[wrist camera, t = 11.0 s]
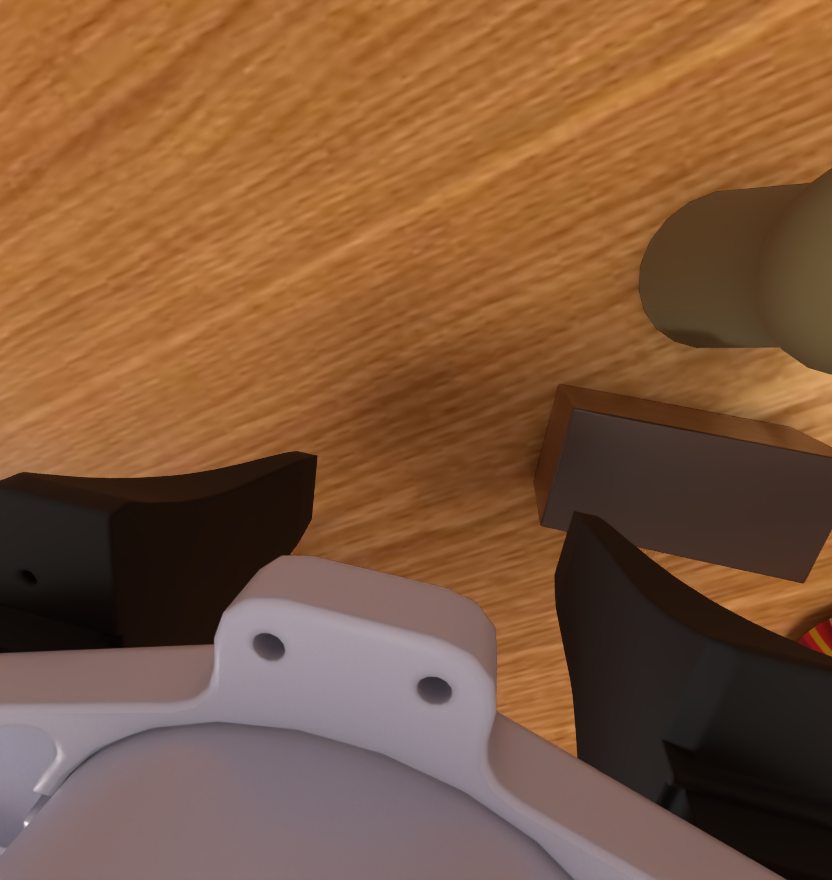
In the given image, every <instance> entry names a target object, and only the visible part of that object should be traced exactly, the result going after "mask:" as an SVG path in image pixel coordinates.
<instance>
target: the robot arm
mask: <svg viewBox="0 0 832 880" xmlns="http://www.w3.org/2000/svg"><path fill="white" fill-rule="evenodd" d="M316 467H317V455H312V454H307V453H303V452H298V451H295V452H287V453H282V454H278V455H274V456H270V457H266V458H262V459H258V460H254V461H250V462H246V463H242V464H238V465H233V466H228V467H224V468H219V469H215V470H210V471H204V472H198V473H190V474H183V475H174V476H161V477H143V478H88V477H72V476H60V475H49V474H37V473H28V472H22V473H18V474H16V475H13V476H11V477H8V478H6V479H3V480H1V481H0V880H832V656H829V655H826V654H824V653H821V652H818V651H816V650H813V649H810V648H808V647H806V646H803V645H801V644H799V643H796V642H794V641H792V640H789V639H787V638H785V637H783V636H780V635H778V634H776V633H774V632H771V631H769V630H767V629H765V628H763V627H761V626H759V625H757V624H755V623H753V622H751V621H749V620H747V619H745V618H743V617H741V616H739V615H737V614H735V613H733V612H732V611H730V610H728V609H726V608H724V607H722V606H720V605H719V604H717V603H715V602H713V601H712V600H710V599H708V598H707V597H705V596H704V595H702V594H700V593H699V592H697V591H696V590H694V589H692V588H691V587H689V586H688V585H686V584H685V583H683V582H682V581H680V580H679V579H677V578H676V577H674V576H673V575H672V574H670V573H669V572H668V571H666V570H665V569H664V568H662V567H661V566H660V565H658V564H657V563H656V562H654V561H653V560H652V559H650V558H649V557H648V556H647V555H645V554H644V553H643V552H642V551H641V550H639V549H638V548H637V547H636V546H635V545H633V544H632V543H631V542H630V541H629V540H627V539H626V538H625V537H624V536H623V535H622V534H620V533H619V532H618V531H617V530H616V529H614V528H613V527H612V526H611V525H610V524H608V523H607V522H606V521H604V520H603V519H602V518H600V517H598V516H596V515H591V514H586V513H582V512H577V511H574V512H573V515H572V519H571V522H570V525H569V529H568V532H567V535H566V539H565V542H564V545H563V548H562V552H561V555H560V558H559V562H558V565H557V568H556V572H555V601H556V610H557V616H558V621H559V626H560V631H561V636H562V641H563V646H564V651H565V656H566V661H567V666H568V671H569V676H570V681H571V688H572V694H573V704H574V716H575V728H576V741H577V757H578V758H576V757H575V756H573V755H571V754H569V753H568V752H566V751H564V750H563V749H561V748H559V747H557V746H556V745H554V744H552V743H551V742H549V741H547V740H545V739H544V738H542V737H540V736H538V735H537V734H535V733H533V732H532V731H530V730H528V729H526V728H525V727H523V726H521V725H520V724H518V723H516V722H514V721H513V720H511V719H509V718H507V717H506V716H504V715H502V714H501V713H499V712H497V711H496V692H497V646H496V630H495V626H494V625H493V623H492V622H491V621H490V619H489V618H488V617H487V615H486V614H485V613H484V612H483V610H482V609H481V608H480V606H479V605H478V604H477V602H475V601H473V600H471V599H469V598H466V597H464V596H462V595H460V594H458V593H456V592H454V591H452V590H450V589H448V588H445V587H441V586H437V585H433V584H429V583H425V582H420V581H416V580H412V579H408V578H404V577H399V576H395V575H391V574H387V573H383V572H379V571H374V570H370V569H366V568H362V567H358V566H354V565H349V564H345V563H341V562H337V561H333V560H328V559H324V558H320V557H316V556H289V555H290V554H291V552H292V551H293V550H294V548H295V547H296V546H297V544H298V543H299V541H300V539H301V537H302V536H303V534H304V532H305V530H306V529H307V527H308V525H309V523H310V521H311V519H312V510H313V499H314V489H315V478H316Z"/></svg>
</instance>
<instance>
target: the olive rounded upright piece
mask: <svg viewBox="0 0 832 880" xmlns="http://www.w3.org/2000/svg"><path fill="white" fill-rule="evenodd" d="M639 292H640V296H641V300H642V304H643V308H644V311H645V313H646V314H647V316H648V317H649V318H650V320H651V321H652V323H653V324H654V326H655V327H656V329H658V330H659V331H660V332H662V333H663V334H665V335H666V336H668V337H669V338H670V339H672V340H673V341H675V342H678V343H682V344H686V345H689V346H693V347H696V348H759V347H780V348H781V349H782V350H784V351H785V352H786V353H788V354H789V355H791V356H792V357H794V358H795V359H796V360H798V361H799V362H801V363H802V364H804V365H805V366H806V367H808V368H811V369H814V370H818V371H821V372H824V373H828V374H832V168H831V169H830V170H828V171H827V172H825V173H824V174H823V175H821V176H820V177H819V178H817V179H816V180H814V181H813V182H812V183H805V184H794V185H783V186H771V187H760V188H749V189H738V190H727V191H716V192H713V193H711V194H708V195H706V196H703V197H701V198H698V199H696V200H693V201H691V202H689V203H688V204H686V205H685V206H684V207H682V208H681V209H680V210H678V211H677V212H676V213H674V214H673V215H672V216H671V217H669V218H668V219H667V220H666V221H665V222H664V224H663V225H662V226H661V228H660V229H659V230H658V232H657V233H656V234H655V236H654V237H653V238H652V239H651V241H650V243H649V246H648V248H647V251H646V253H645V256H644V258H643V261H642V263H641V268H640V280H639Z"/></svg>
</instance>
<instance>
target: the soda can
mask: <svg viewBox="0 0 832 880" xmlns="http://www.w3.org/2000/svg"><path fill="white" fill-rule="evenodd" d="M797 643H799V644H801V645H803V646H806V647H808V648H810V649H813V650H816V651H818V652H821V653H824V654H826V655H829V656H832V618H831V619H828V620H826V621H824V622H822V623H820V624H818V625H817V626H815V627H814V628H812V629H811V630H810V631H808V632H807V633H806V634H805V635H804V636H803V637H802V638H801V639H799V641H798V642H797Z"/></svg>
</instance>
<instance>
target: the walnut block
mask: <svg viewBox="0 0 832 880" xmlns="http://www.w3.org/2000/svg"><path fill="white" fill-rule="evenodd" d="M533 483H534V489H535V495H536V501H537V507H538V513H539V519H540V525H541V526H544V527H548V528H553V529H557V530H562V531H566V532H568V529H569V525H570V522H571V519H572V515H573V512H574V511H577V512H582V513H586V514H591V515H596V516H598V517H600V518H602V519H603V520H604V521H606V522H607V523H608V524H610V525H611V526H612V527H613V528H614V529H616V530H617V531H618V532H619V533H620V534H622V535H623V536H624V537H625V538H626V539H627V540H629V541H630V542H631V543H632V544H633V545H635V546H636V547H639V548H644V549H649V550H653V551H658V552H662V553H667V554H671V555H676V556H680V557H685V558H690V559H694V560H699V561H703V562H708V563H712V564H717V565H722V566H726V567H731V568H735V569H740V570H744V571H749V572H753V573H758V574H763V575H767V576H772V577H776V578H781V579H785V580H790V581H795V582H799V583H804V582H805V581H806V579H807V577H808V575H809V573H810V571H811V569H812V567H813V565H814V563H815V561H816V559H817V557H818V555H819V553H820V551H821V549H822V547H823V546H824V544H825V542H826V540H827V538H828V536H829V534H830V532H831V530H832V447H830V446H828V445H826V444H824V443H822V442H820V441H818V440H816V439H814V438H812V437H810V436H808V435H806V434H804V433H802V432H800V431H798V430H796V429H794V428H792V427H788V426H783V425H777V424H772V423H766V422H761V421H756V420H750V419H745V418H740V417H734V416H729V415H724V414H718V413H713V412H708V411H702V410H697V409H691V408H686V407H681V406H675V405H670V404H665V403H659V402H654V401H649V400H643V399H638V398H633V397H627V396H622V395H616V394H611V393H606V392H600V391H595V390H590V389H584V388H579V387H574V386H568V385H563V384H559V386H558V390H557V394H556V397H555V401H554V405H553V409H552V413H551V416H550V420H549V424H548V428H547V432H546V435H545V439H544V443H543V447H542V451H541V454H540V458H539V462H538V466H537V470H536V473H535V477H534V481H533Z"/></svg>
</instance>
